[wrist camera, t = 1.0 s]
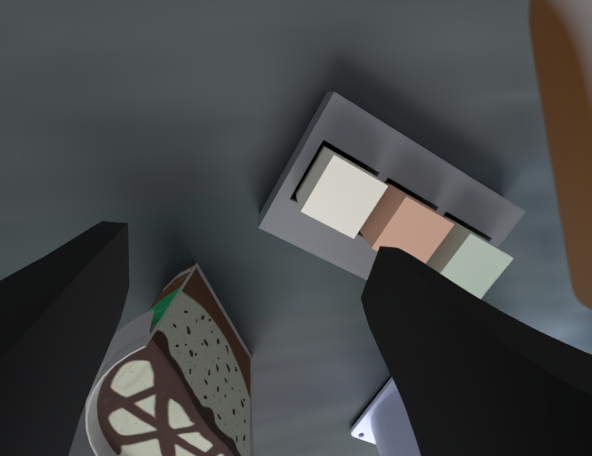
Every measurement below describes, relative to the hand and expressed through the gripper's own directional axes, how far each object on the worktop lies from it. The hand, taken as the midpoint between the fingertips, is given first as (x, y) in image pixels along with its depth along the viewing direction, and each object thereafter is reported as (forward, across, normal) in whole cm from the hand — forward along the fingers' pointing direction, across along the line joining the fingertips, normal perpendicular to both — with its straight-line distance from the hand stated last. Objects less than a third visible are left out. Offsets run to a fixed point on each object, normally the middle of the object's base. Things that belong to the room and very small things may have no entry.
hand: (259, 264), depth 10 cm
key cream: (+11, -6, +1) cm, 13 cm away
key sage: (+10, -14, +4) cm, 18 cm away
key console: (+12, -10, +3) cm, 16 cm away
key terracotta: (+11, -10, +3) cm, 15 cm away
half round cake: (+12, +2, +15) cm, 19 cm away
